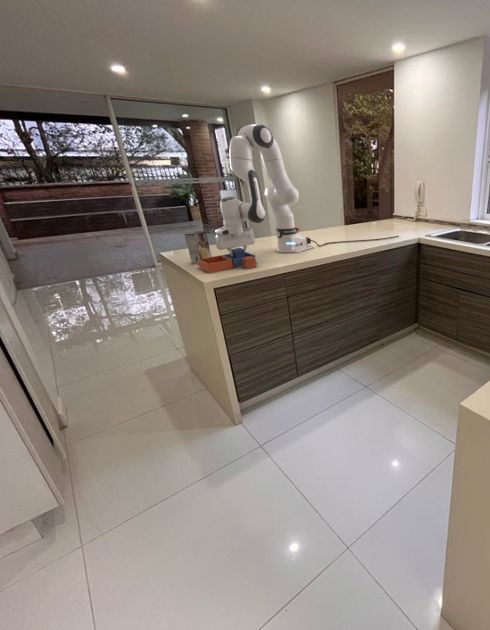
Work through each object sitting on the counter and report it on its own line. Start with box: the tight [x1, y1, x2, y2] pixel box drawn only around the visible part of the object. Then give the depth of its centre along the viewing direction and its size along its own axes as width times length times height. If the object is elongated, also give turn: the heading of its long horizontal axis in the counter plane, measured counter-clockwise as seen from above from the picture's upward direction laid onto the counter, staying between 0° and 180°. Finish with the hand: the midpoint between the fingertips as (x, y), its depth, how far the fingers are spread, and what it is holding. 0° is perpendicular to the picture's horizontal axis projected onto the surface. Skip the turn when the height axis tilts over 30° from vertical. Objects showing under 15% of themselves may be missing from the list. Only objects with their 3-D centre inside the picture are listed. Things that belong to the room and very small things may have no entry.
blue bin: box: [221, 251, 257, 269], centre depth 186 cm, size 12×13×5 cm
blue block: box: [231, 247, 245, 259], centre depth 185 cm, size 5×5×5 cm
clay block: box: [242, 256, 257, 270], centre depth 179 cm, size 5×5×5 cm
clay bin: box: [198, 255, 234, 274], centre depth 177 cm, size 12×13×5 cm
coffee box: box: [184, 230, 212, 265], centre depth 187 cm, size 9×6×16 cm
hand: (238, 255), depth 185 cm, fingers closed on blue block, 5 cm apart
